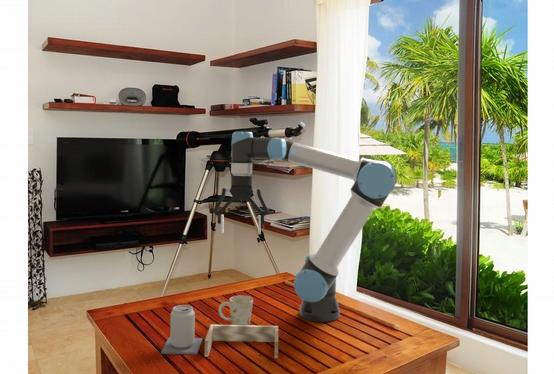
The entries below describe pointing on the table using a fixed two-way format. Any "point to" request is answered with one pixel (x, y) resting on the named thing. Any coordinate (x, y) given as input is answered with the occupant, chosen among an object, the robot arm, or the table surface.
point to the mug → (238, 310)
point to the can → (182, 326)
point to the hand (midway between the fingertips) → (240, 233)
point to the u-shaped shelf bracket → (241, 335)
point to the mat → (190, 350)
